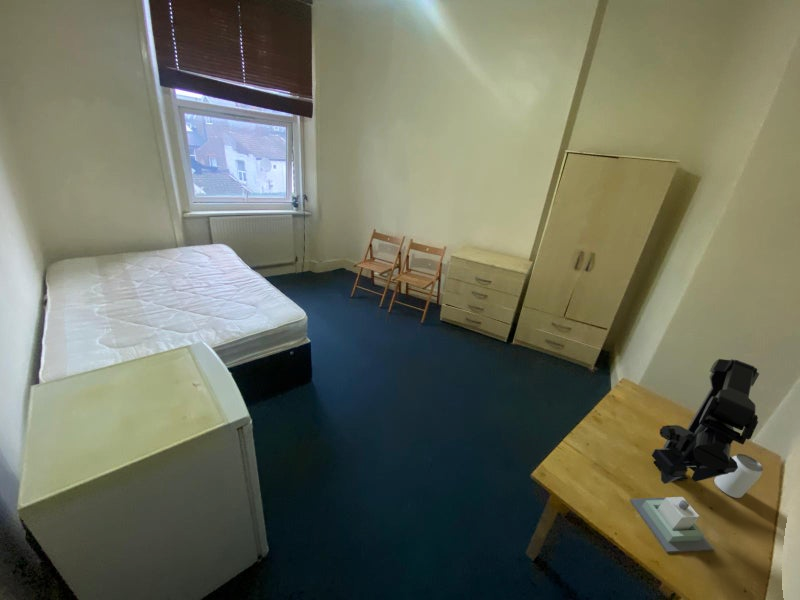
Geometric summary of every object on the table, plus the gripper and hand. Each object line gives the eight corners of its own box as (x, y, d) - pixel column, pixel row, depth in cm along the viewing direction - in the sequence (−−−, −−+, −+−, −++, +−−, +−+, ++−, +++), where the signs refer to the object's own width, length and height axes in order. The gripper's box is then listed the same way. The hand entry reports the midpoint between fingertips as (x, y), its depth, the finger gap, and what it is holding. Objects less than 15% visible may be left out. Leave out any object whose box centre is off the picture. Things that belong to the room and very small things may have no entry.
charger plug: (670, 512, 89) (685, 493, 85) (686, 532, 85) (702, 513, 81) (654, 513, 89) (668, 494, 85) (669, 533, 84) (684, 513, 80)
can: (707, 478, 101) (728, 452, 95) (726, 478, 101) (748, 452, 96) (728, 499, 95) (751, 472, 90) (747, 498, 96) (771, 472, 90)
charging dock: (670, 498, 94) (675, 492, 92) (712, 550, 82) (719, 543, 81) (629, 500, 92) (633, 493, 91) (666, 552, 81) (672, 545, 79)
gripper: (710, 413, 87) (682, 452, 94) (648, 416, 84) (625, 455, 92) (755, 450, 77) (720, 490, 84) (686, 453, 75) (656, 494, 82)
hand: (678, 480), depth 86 cm, fingers open, 9 cm apart
